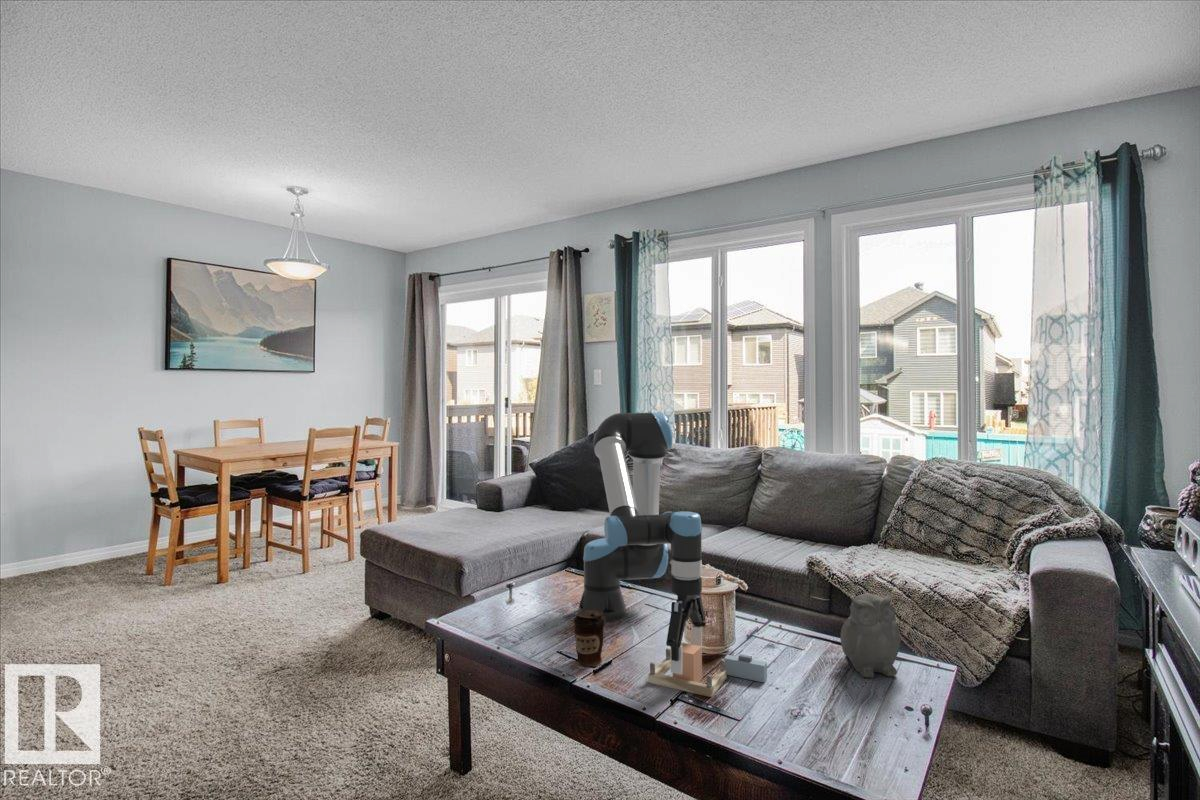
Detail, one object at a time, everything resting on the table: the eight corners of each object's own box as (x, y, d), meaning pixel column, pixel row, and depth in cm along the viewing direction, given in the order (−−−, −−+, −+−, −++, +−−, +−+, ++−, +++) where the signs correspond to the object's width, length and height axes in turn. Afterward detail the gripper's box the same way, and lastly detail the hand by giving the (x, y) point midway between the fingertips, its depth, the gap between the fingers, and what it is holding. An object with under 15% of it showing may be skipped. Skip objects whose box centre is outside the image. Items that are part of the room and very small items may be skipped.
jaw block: (681, 674, 153) (681, 642, 153) (702, 678, 150) (701, 646, 150) (672, 682, 148) (672, 649, 148) (694, 687, 145) (693, 654, 145)
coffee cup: (602, 671, 155) (601, 619, 155) (570, 668, 156) (570, 618, 157) (608, 657, 163) (608, 608, 164) (578, 655, 165) (578, 607, 165)
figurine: (853, 681, 148) (851, 599, 148) (828, 654, 164) (827, 580, 164) (911, 681, 148) (909, 598, 148) (880, 654, 164) (879, 580, 164)
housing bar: (727, 670, 154) (727, 650, 154) (766, 678, 149) (766, 658, 149) (724, 674, 152) (724, 654, 152) (764, 682, 147) (764, 661, 147)
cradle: (666, 665, 158) (666, 647, 158) (726, 677, 150) (726, 659, 150) (648, 682, 148) (648, 663, 148) (711, 697, 140) (711, 677, 140)
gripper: (690, 562, 162) (690, 642, 162) (651, 587, 140) (652, 679, 140) (717, 565, 158) (717, 647, 158) (681, 591, 137) (682, 686, 136)
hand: (687, 662), depth 149 cm, fingers open, 13 cm apart
